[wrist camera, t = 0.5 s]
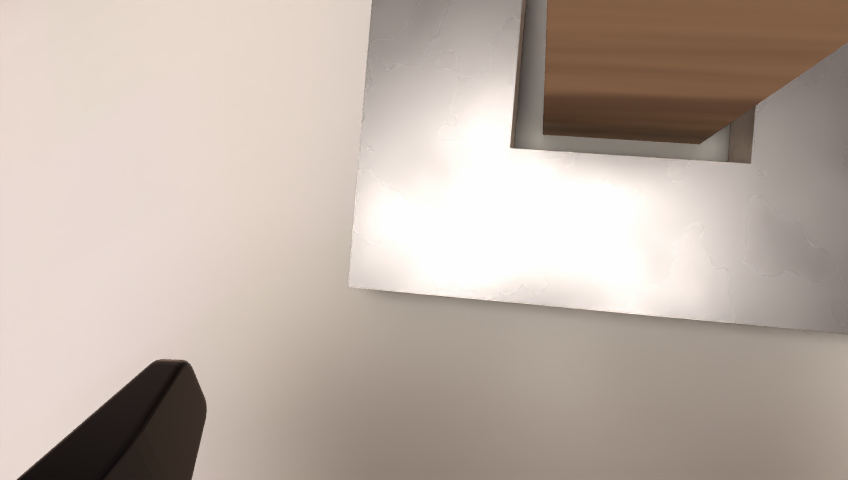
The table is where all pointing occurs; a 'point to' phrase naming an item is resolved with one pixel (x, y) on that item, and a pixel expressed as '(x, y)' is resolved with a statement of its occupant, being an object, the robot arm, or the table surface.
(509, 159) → the post plate
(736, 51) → the walnut peg
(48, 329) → the table surface
